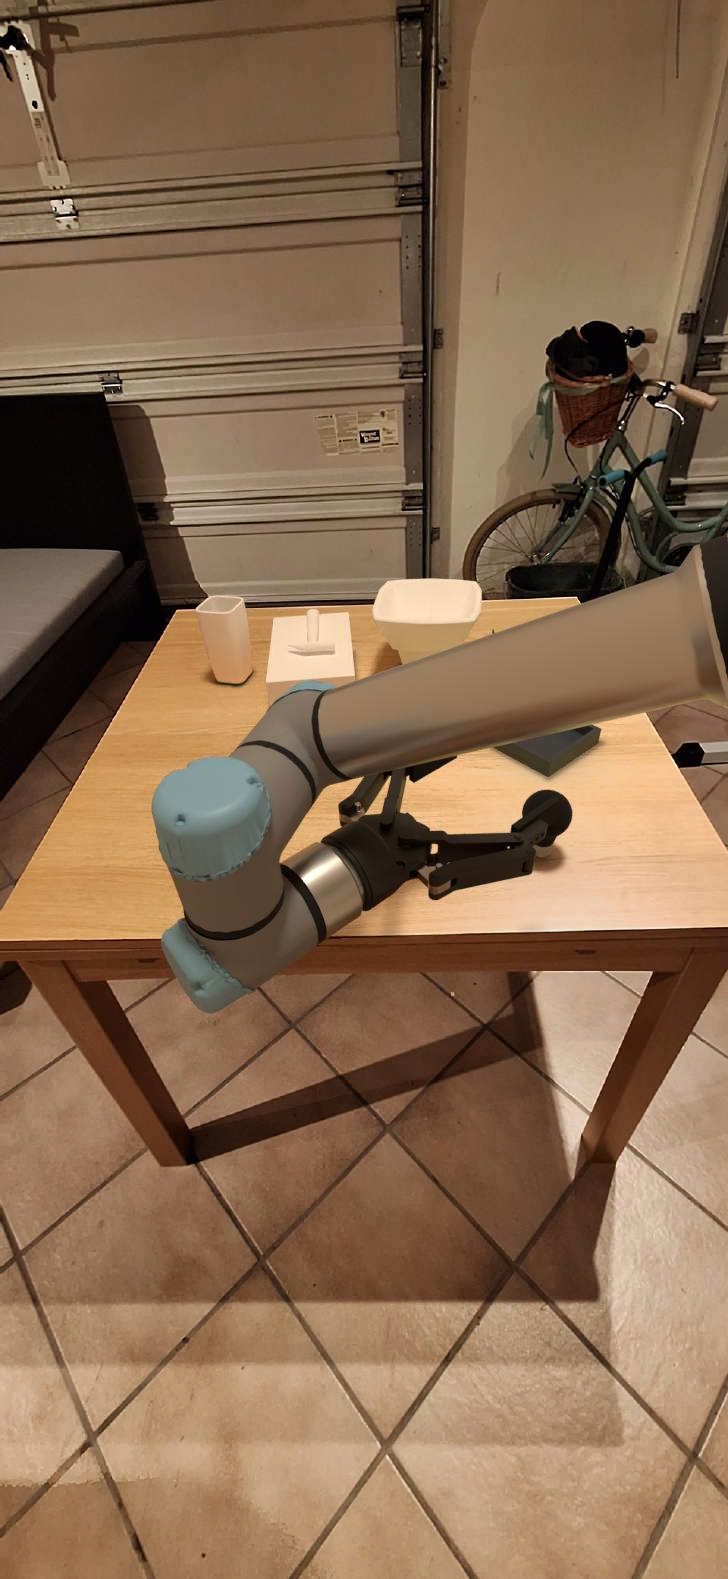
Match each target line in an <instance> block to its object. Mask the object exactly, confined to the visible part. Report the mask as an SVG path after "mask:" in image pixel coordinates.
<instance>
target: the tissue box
mask: <svg viewBox="0 0 728 1579" xmlns="http://www.w3.org/2000/svg"><path fill="white" fill-rule="evenodd" d="M351 632H352V631H351V624H350V612H349V611H346V612H332V613H331V612H330V613H320V611H319V610H318V609H315V608H311V609H308V610H307V611H306V614H305V615H292V616H281V617H273V620H272V628H271V634H270V635H271V636H270V645H269V653H268V661H267V668H266V677H265V686H266V692H267V698H268V704H269V707H270V706H271V705H272V704H273V703H274V701H275V700H276V699H278V698H279V697H281V696H282V695H283V694H285V693H286V692H287V691H288V690H289V689H290V688H291V687H293V686H294V685H296V684H298V683H301V682H303V681H308V680H314V681H319V682H323V683H324V682H327V683H330V684H332V685H334V686H336V687H338V686H341V685H344V684H347V683H350V682H353V681H356V674H355V673H356V672H355V664H354V663H355V662H354V661H355V660H354V653H353V652H354V651H353V642H352V633H351Z"/></svg>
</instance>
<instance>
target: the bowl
mask: <svg viewBox="0 0 728 1579" xmlns="http://www.w3.org/2000/svg"><path fill="white" fill-rule="evenodd" d="M482 604H483V589H482V588H481V587H480V585H479V583H478V582H477V581H476V580H475V581H474V580H463V579H453V578H452V579H451V578H405V579H395V580H387V581H386V582H385V583H384V584H383V585H382V586H381V587H380V588H379V589H378V592H377V595H376V597H375V599H374V603H373V606H372V609H371V614H372V617H373V622H374V624H375V625H376V626H377V628H378V630H379V631H380V632H381V634H382V636H383V637H384V639H385V641H387V644H388V645H389V646H390V647H391V649H392V650H396V651H397V652H398V656H399V659H400V662H401V665H403V664H406V663H408V662H411V661H414V660H417V659H420V658H423V657H426V656H429V655H432V654H435V653H438V652H441V651H444V650H447V649H450V648H452V647H455V646H458V645H461V644H464V643H465V641H466V639H467V637H468V636H469V634H470V633H471V631H472V629H473V628H474V626H475V624H476V623H477V621H478V620H479V619H480V617H481V615H482Z"/></svg>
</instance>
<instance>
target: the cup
mask: <svg viewBox="0 0 728 1579" xmlns="http://www.w3.org/2000/svg"><path fill="white" fill-rule="evenodd" d="M195 613H196V618H197V622H198V626H199V630H200V634H201V638H202V642H203V645H204V648H205V651H206V655H207V658H208V661H209V665H210V666H211V669H212V672H213V675H214V677H215V680H216V681H217V682H219V683H221V684H232V685H239V684H243V683H244V682H245V681H246V680H247V679H248V677H250V675H251V674H252V673H253V655H252V643H251V642H252V641H251V635H250V626H249V621H248V614H247V608H246V604H245V599H244V598H243V597H241V596H234V595H233V596H232V595H212V596H208V597H207V598H206V599H205V600H203V601H202V602H201V603H200V604H199V605H198V606H197V607H196V608H195Z"/></svg>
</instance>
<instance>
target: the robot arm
mask: <svg viewBox="0 0 728 1579" xmlns="http://www.w3.org/2000/svg"><path fill="white" fill-rule="evenodd" d="M697 701H711V702H713V703H714V704H716V705H719V707H723V708H724V709H726V710H728V533H726V534H723V535H721V536H718V537H715V538H712V539H710V540H709V539H708V540H706V541H704V542H701V543H699V544H696V545H693V546H692V548H691V550H690V551H689V553H688V554H687V555H686V557H685V558H684V560H683V562H682V563H681V564H680V566H679V567H678V568H677V569H676V570H675V571H673V572H670V573H667V574H663V575H660V576H658V577H655V578H653V579H649V580H645V581H643V582H641V583H638V584H635V585H631V586H629V587H626V588H623V589H619V590H617V591H614V592H611V593H609V594H606V595H603V596H599V597H597V598H594V599H591V600H587V601H586V602H582V603H578V604H575V605H573V606H570V607H567V608H564V609H561V610H558V611H556V612H551V613H550V614H547V615H544V616H541V617H537V618H534V619H532V620H529V621H526V622H524V623H521V624H517V625H514V626H511V627H508V628H506V629H503V630H500V631H497V632H494V634H492V633H491V634H488V635H485V636H483V637H479V638H476V639H473V640H470V641H468V642H463V644H461V645H458V646H455V647H452V648H450V649H447V650H444V651H441V652H438V653H435V654H432V655H429V656H426V657H423V658H420V659H417V660H414V661H411V662H408V663H406V664H403V665H402V664H400V665H397V666H393V667H391V668H388V669H385V670H382V671H379V672H376V673H373V674H371V675H367V676H364V677H362V678H359V679H355V681H353V682H350V683H347V684H344V685H341V686H338V687H336V686H334V685H332V684H330V683H327V682H324V683H323V682H319V681H314V680H308V681H303V682H301V683H298V684H296V685H294V686H293V687H291V688H290V689H289V690H288V691H287V692H286V693H285V694H283V695H282V696H281V697H279V698H278V699H276V700H275V701H274V703H273V704H272V705H271V706H270V705H269V707H268V708H267V710H266V712H265V714H263V716H262V717H261V718H260V720H258V722H257V723H256V724H255V726H254V727H253V728H252V729H251V730H250V731H249V733H248V734H247V735H246V736H245V737H244V739H243V740H242V741H241V742H240V743H239V744H238V746H237V747H236V748H235V749H234V750H233V751H232V752H231V753H230V754H229V755H228V756H207V757H202V758H198V759H195V760H192V761H189V762H188V763H187V765H186V766H185V767H184V768H182V769H174V770H172V771H170V772H169V773H168V774H167V775H166V776H165V777H164V778H163V779H161V781H160V782H159V783H158V784H157V786H156V788H155V790H154V793H153V795H152V799H151V815H152V819H153V822H154V827H155V834H156V837H157V841H158V850H159V853H160V855H161V858H162V861H163V862H164V863H165V865H166V866H167V869H168V871H169V874H170V876H171V879H172V882H173V884H174V887H175V889H176V892H177V896H178V898H179V900H180V903H181V905H182V910H183V917H181V918H179V919H178V920H177V921H176V923H174V924H173V925H172V926H170V927H169V928H167V929H166V930H164V932H163V933H162V935H161V939H160V944H161V949H162V952H163V954H164V957H165V959H166V961H167V964H168V965H169V967H170V969H171V970H172V973H173V974H174V976H175V979H176V980H177V981H178V983H179V984H180V986H181V988H182V989H183V992H184V993H185V994H186V996H187V997H188V998H189V1000H190V1001H191V1003H192V1004H193V1005H194V1006H195V1007H196V1008H197V1009H198V1010H199V1011H201V1012H203V1013H205V1014H215V1013H218V1012H220V1011H221V1010H223V1009H225V1008H226V1007H228V1006H230V1005H231V1004H233V1003H234V1002H236V1001H238V1000H239V999H241V998H242V997H244V996H246V995H251V994H254V992H256V990H257V989H258V988H260V987H261V986H262V985H264V984H265V983H267V982H268V981H269V980H271V979H272V978H274V977H275V976H276V975H278V974H280V973H281V972H282V971H284V970H285V969H287V968H288V967H290V966H291V965H292V964H294V963H295V962H297V961H298V960H299V959H301V958H302V957H304V956H305V955H306V954H308V953H309V952H311V951H312V950H314V949H315V948H316V947H318V946H319V945H320V944H321V943H323V942H325V941H326V940H328V939H329V938H331V937H332V936H333V935H335V934H337V933H338V932H340V931H341V930H342V929H344V928H345V927H346V926H348V925H349V924H351V923H353V922H354V921H355V920H357V919H358V918H360V917H361V916H362V913H363V912H369V911H371V910H373V909H374V908H375V907H377V906H378V905H380V904H381V903H383V902H384V901H386V900H387V899H389V898H390V897H392V896H393V895H395V893H396V892H397V891H398V890H399V889H400V888H401V887H402V886H403V885H404V884H405V883H407V882H408V881H412V880H418V881H420V882H421V883H422V884H423V885H424V886H425V887H426V888H427V895H428V896H427V897H428V898H429V899H430V900H431V901H439V900H441V899H443V898H445V897H446V896H449V895H450V894H452V893H453V892H457V891H460V890H465V889H471V888H475V887H479V886H484V885H489V884H494V883H497V882H503V881H509V880H512V879H518V878H522V877H525V876H526V877H527V876H530V875H532V874H533V873H534V866H535V861H536V857H537V856H536V850H535V849H534V848H533V846H534V845H536V844H537V843H539V842H540V841H541V840H543V839H544V838H545V835H546V831H547V827H548V826H549V825H551V824H552V823H553V822H555V821H556V820H558V819H559V816H560V811H561V806H562V800H563V797H562V796H560V795H558V794H555V795H554V796H552V797H551V798H549V799H548V800H547V801H545V802H544V803H542V804H541V805H539V806H538V807H537V808H535V809H534V810H532V811H531V812H529V813H528V814H526V815H525V816H524V817H522V816H521V818H519V819H517V821H515V822H513V823H512V824H511V825H510V832H482V833H480V832H479V833H478V832H477V833H447V832H446V831H445V830H443V829H442V830H441V829H440V830H431V828H430V827H428V826H427V825H426V824H424V823H422V822H420V821H417V819H416V818H415V817H414V816H413V815H412V814H410V813H409V812H408V811H407V812H405V813H404V812H401V808H402V805H403V799H404V794H405V789H406V784H407V780H408V781H410V782H412V783H413V784H415V783H417V782H418V781H420V780H422V779H423V778H425V777H427V776H429V775H430V774H432V773H434V772H436V771H437V770H439V769H440V768H442V767H444V766H446V765H448V764H450V763H451V762H453V761H455V760H457V759H458V756H461V755H466V754H470V753H475V752H479V751H482V750H487V749H491V748H494V747H496V746H501V745H505V744H510V743H514V742H518V741H523V740H527V739H531V738H536V737H540V736H545V735H549V734H553V733H558V732H562V731H566V730H571V729H575V728H580V727H584V726H588V725H597V724H600V723H605V722H609V721H614V720H618V719H622V718H628V717H632V716H637V715H639V714H645V713H649V712H654V711H658V710H663V709H667V708H671V707H675V706H680V705H685V704H688V703H693V702H697ZM407 777H408V779H407ZM360 778H362V779H361V781H359V783H358V785H357V786H356V788H355V789H354V791H353V792H352V794H350V795H348V796H347V797H345V798H344V799H343V800H342V801H340V802H339V803H338V804H337V807H338V819H339V825H340V826H339V827H338V828H337V829H335V830H333V831H332V832H330V833H328V834H327V835H325V836H324V837H322V839H320V842H318V841H315V842H313V843H311V844H309V845H308V846H306V847H304V848H303V849H301V850H299V851H298V852H296V853H294V854H292V855H291V856H290V857H288V858H286V859H284V860H282V861H281V856H282V854H283V852H284V850H285V848H287V846H288V844H289V843H290V841H291V839H292V838H293V836H294V834H295V833H296V832H297V830H298V829H299V827H300V825H301V824H302V822H303V820H305V818H306V816H307V814H308V813H309V812H310V810H311V809H312V808H313V805H314V804H315V803H316V801H317V800H318V798H319V797H320V795H321V793H322V792H323V791H324V790H325V789H326V788H328V787H329V786H332V785H336V784H340V783H341V784H342V783H345V782H349V781H351V780H356V779H360ZM389 778H390V780H389ZM388 781H389V783H388V788H387V791H386V792H387V793H386V797H384V801H383V805H382V809H381V812H380V813H374V814H373V813H371V814H369V813H368V811H369V809H370V808H371V807H372V804H373V803H374V802H375V800H376V798H377V797H378V795H379V794H380V793H381V791H382V789H383V788H384V786H385V785H386V783H387V782H388ZM367 813H368V814H367ZM433 845H437V851H436V852H434V853H432V850H433ZM280 861H281V862H280Z"/></svg>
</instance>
